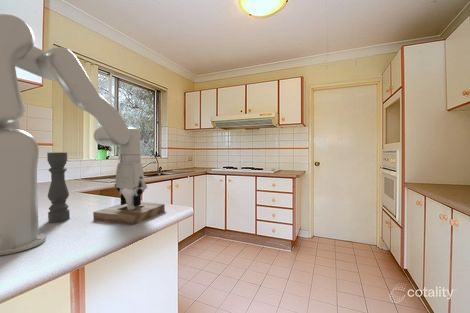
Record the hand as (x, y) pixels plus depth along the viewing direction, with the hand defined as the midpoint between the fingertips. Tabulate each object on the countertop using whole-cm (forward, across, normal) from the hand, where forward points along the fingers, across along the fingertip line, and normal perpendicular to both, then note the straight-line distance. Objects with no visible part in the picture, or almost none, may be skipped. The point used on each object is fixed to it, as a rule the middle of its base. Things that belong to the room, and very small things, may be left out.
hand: (130, 204), depth 87 cm
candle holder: (+5, -21, -13) cm, 25 cm away
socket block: (+4, 0, 0) cm, 4 cm away
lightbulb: (+3, 0, 0) cm, 3 cm away
